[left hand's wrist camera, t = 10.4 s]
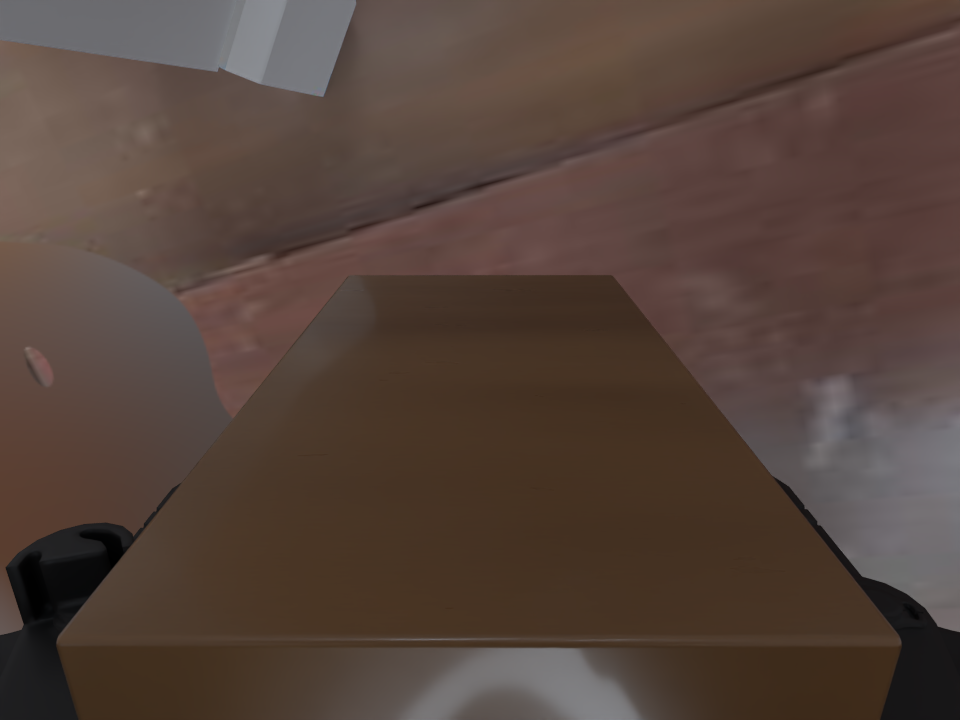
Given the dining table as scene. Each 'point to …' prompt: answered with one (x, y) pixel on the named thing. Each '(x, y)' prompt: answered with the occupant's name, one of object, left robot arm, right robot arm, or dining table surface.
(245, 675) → the box
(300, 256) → the dining table surface
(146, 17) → the electronic device
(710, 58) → the dining table surface
